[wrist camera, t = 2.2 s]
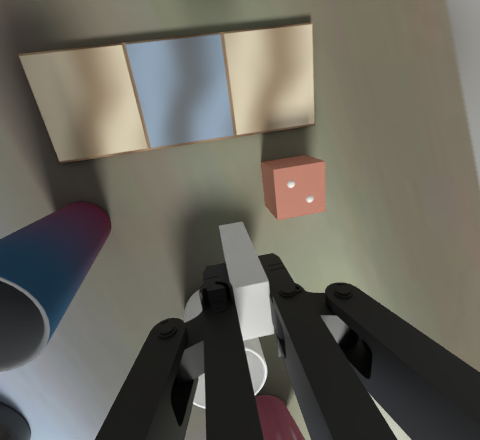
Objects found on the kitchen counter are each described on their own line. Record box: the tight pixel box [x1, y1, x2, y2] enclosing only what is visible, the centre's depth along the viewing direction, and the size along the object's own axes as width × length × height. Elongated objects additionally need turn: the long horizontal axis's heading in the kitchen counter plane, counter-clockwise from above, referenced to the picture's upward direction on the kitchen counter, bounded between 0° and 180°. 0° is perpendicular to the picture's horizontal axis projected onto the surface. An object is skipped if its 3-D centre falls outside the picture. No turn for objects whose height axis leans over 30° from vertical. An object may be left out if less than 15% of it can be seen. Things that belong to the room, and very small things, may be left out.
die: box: [261, 155, 326, 220], centre depth 27 cm, size 5×5×5 cm
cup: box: [0, 202, 111, 372], centre depth 21 cm, size 7×7×15 cm
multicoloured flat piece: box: [18, 22, 315, 164], centre depth 25 cm, size 26×9×1 cm, turn 97°
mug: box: [184, 289, 267, 408], centre depth 29 cm, size 12×8×10 cm
